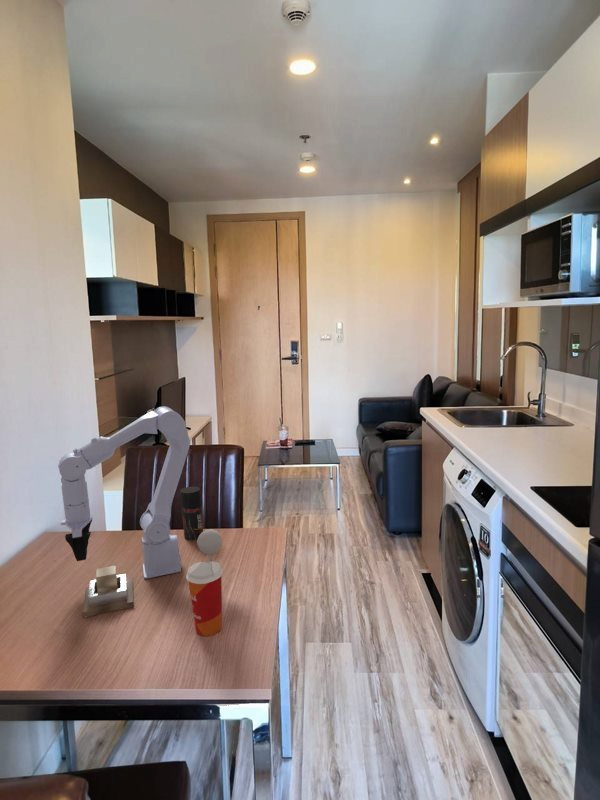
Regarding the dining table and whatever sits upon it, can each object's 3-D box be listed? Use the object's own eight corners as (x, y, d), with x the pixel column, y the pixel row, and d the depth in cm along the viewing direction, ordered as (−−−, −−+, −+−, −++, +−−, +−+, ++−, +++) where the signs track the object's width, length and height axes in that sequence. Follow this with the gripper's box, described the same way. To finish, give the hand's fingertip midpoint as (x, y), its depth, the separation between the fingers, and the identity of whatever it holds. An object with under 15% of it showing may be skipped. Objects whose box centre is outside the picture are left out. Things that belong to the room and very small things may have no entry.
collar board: (132, 582, 131) (130, 569, 130) (133, 606, 119) (132, 592, 119) (86, 591, 127) (84, 578, 126) (83, 617, 116) (81, 602, 115)
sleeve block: (118, 587, 126) (115, 565, 125) (118, 596, 122) (115, 573, 121) (99, 591, 124) (96, 569, 123) (98, 600, 120) (95, 577, 119)
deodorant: (199, 540, 154) (195, 493, 151) (181, 539, 155) (177, 492, 153) (206, 532, 160) (203, 486, 157) (189, 531, 161) (185, 486, 158)
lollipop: (213, 595, 122) (209, 537, 120) (195, 589, 126) (191, 532, 123) (230, 584, 128) (226, 527, 125) (212, 578, 131) (208, 523, 128)
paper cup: (195, 618, 113) (190, 560, 111) (229, 617, 113) (225, 559, 111) (186, 640, 106) (181, 578, 103) (223, 639, 105) (218, 577, 103)
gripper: (61, 495, 130) (67, 544, 133) (55, 514, 117) (62, 569, 119) (90, 490, 133) (96, 539, 135) (88, 509, 119) (94, 563, 121)
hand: (82, 553), depth 127 cm, fingers open, 7 cm apart
